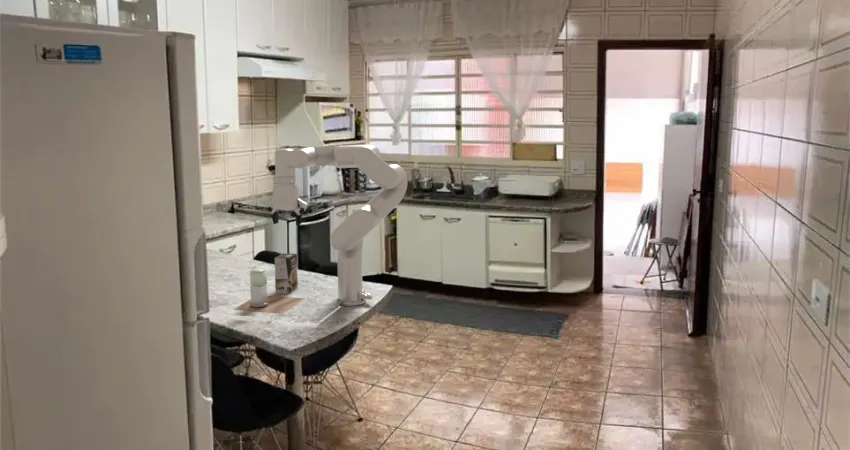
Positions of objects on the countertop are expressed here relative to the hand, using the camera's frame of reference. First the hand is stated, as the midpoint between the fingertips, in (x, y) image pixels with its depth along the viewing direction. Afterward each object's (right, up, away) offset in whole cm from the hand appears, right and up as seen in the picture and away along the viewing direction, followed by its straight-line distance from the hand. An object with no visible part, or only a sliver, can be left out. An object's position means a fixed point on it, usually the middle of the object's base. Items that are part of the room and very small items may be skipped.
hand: (287, 224), depth 271 cm
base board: (-5, -32, -6) cm, 33 cm away
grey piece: (-9, -31, -9) cm, 33 cm away
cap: (-9, -23, -10) cm, 27 cm away
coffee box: (-2, -29, +12) cm, 31 cm away
